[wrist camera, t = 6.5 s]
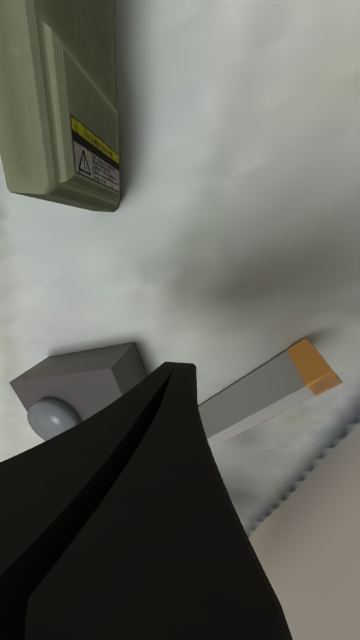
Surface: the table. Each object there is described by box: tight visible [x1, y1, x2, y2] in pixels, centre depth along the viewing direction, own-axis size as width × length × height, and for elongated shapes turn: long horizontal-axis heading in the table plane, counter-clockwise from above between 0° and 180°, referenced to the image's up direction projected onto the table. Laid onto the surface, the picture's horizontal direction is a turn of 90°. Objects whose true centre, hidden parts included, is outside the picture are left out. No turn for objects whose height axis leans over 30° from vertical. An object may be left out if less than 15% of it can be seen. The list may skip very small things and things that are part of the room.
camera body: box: [9, 342, 147, 441], centre depth 18 cm, size 10×10×5 cm
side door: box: [198, 338, 343, 448], centre depth 16 cm, size 15×1×4 cm, turn 136°
